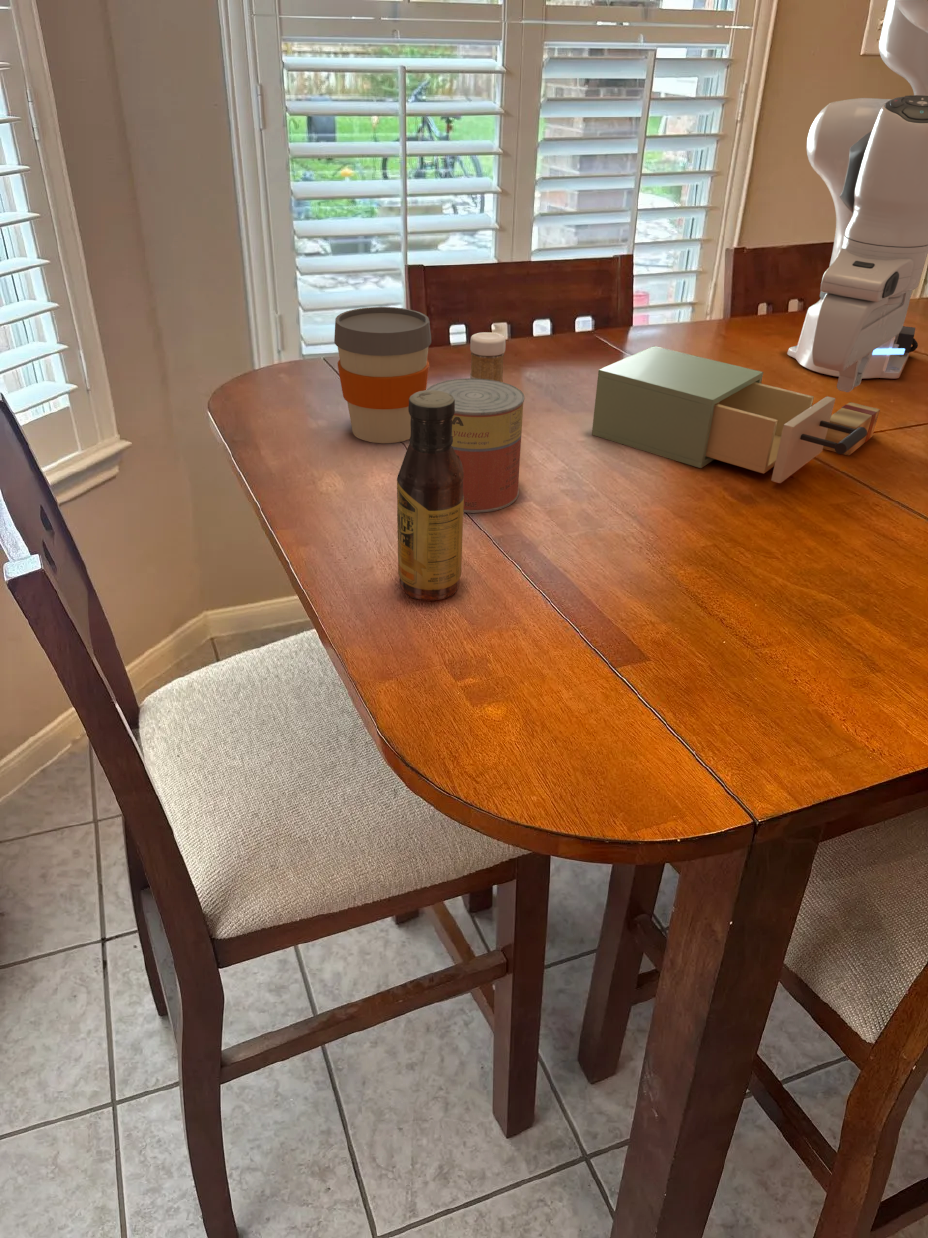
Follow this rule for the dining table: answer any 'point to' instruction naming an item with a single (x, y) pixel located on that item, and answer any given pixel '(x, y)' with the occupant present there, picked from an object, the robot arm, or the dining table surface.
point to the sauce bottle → (430, 501)
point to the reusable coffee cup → (382, 368)
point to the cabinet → (665, 401)
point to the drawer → (774, 430)
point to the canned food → (486, 440)
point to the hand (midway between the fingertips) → (847, 388)
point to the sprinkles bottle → (487, 356)
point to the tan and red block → (852, 423)
